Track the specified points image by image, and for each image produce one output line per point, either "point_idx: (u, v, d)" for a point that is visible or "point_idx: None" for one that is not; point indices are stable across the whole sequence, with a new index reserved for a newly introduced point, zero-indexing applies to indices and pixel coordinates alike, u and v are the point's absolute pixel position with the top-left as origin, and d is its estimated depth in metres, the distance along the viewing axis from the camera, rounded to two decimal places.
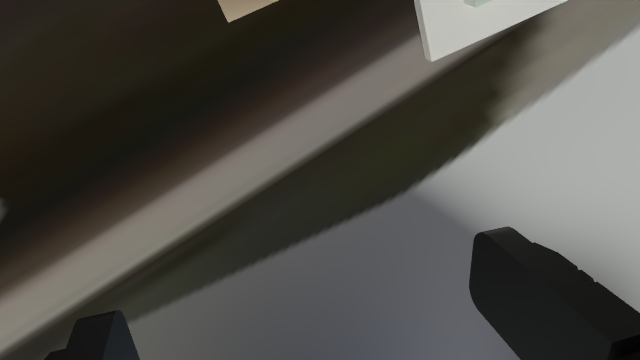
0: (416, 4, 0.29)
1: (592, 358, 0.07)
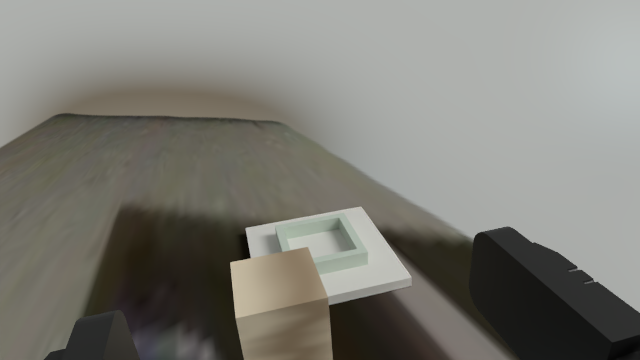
0: (368, 293, 0.38)
1: (592, 358, 0.07)
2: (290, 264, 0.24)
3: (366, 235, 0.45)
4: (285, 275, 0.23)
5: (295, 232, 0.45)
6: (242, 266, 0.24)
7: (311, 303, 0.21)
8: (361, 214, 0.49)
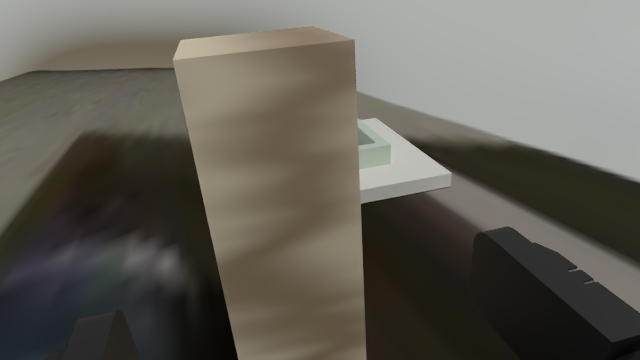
0: (394, 192, 0.28)
1: (592, 358, 0.07)
2: (283, 33, 0.14)
3: (386, 140, 0.35)
4: (273, 37, 0.13)
5: None
6: (200, 40, 0.14)
7: (323, 50, 0.11)
8: (377, 124, 0.39)
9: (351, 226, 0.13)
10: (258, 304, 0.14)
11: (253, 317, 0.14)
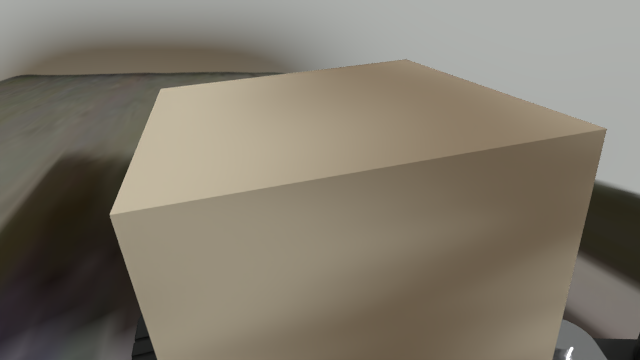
0: None
1: None
2: (366, 81, 0.07)
3: None
4: (356, 96, 0.06)
5: None
6: (199, 92, 0.07)
7: (526, 159, 0.04)
8: None
9: None
10: None
11: None
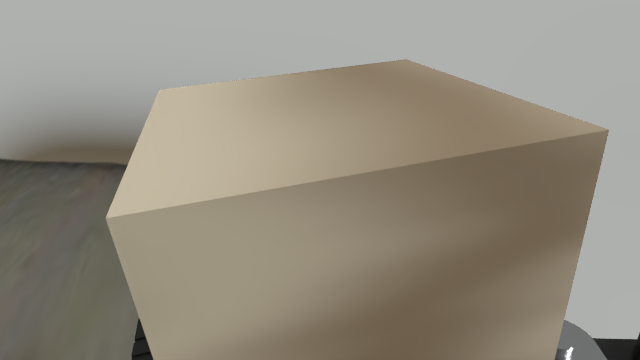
0: None
1: None
2: (366, 81, 0.07)
3: None
4: (356, 97, 0.06)
5: None
6: (198, 92, 0.07)
7: (528, 160, 0.04)
8: None
9: None
10: None
11: None
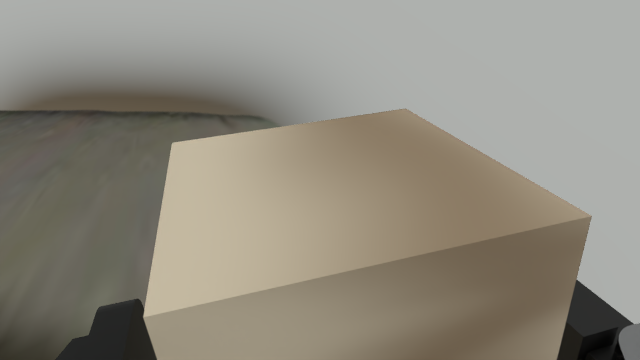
0: None
1: (565, 352, 0.07)
2: (368, 139, 0.07)
3: None
4: (360, 161, 0.06)
5: None
6: (210, 149, 0.07)
7: (519, 245, 0.04)
8: None
9: None
10: None
11: None
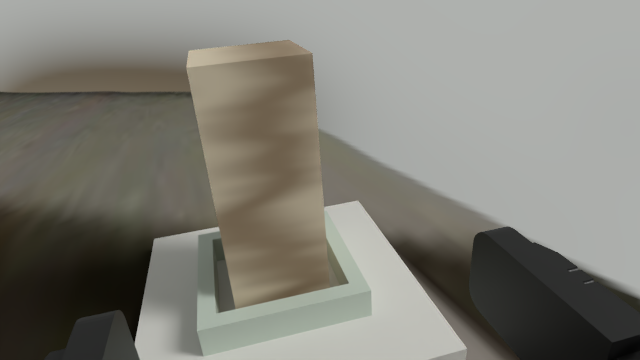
0: None
1: (592, 358, 0.07)
2: (265, 46, 0.18)
3: (368, 252, 0.24)
4: (257, 50, 0.18)
5: None
6: (204, 51, 0.18)
7: (290, 60, 0.16)
8: (358, 214, 0.28)
9: (315, 188, 0.18)
10: (246, 247, 0.18)
11: (243, 256, 0.19)
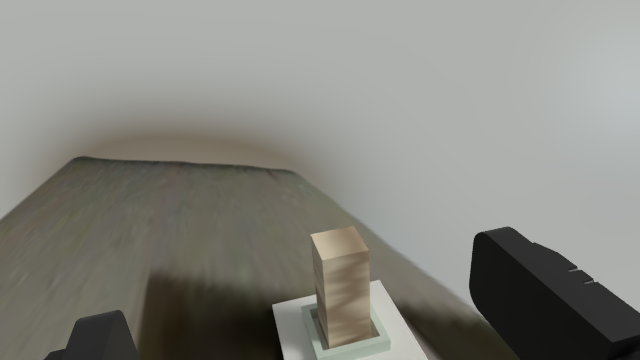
0: None
1: (592, 358, 0.07)
2: (345, 235, 0.42)
3: (387, 315, 0.48)
4: (343, 240, 0.42)
5: None
6: (318, 236, 0.43)
7: (360, 253, 0.40)
8: (380, 290, 0.52)
9: (366, 297, 0.42)
10: (336, 321, 0.43)
11: (335, 325, 0.43)
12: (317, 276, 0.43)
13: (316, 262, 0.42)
